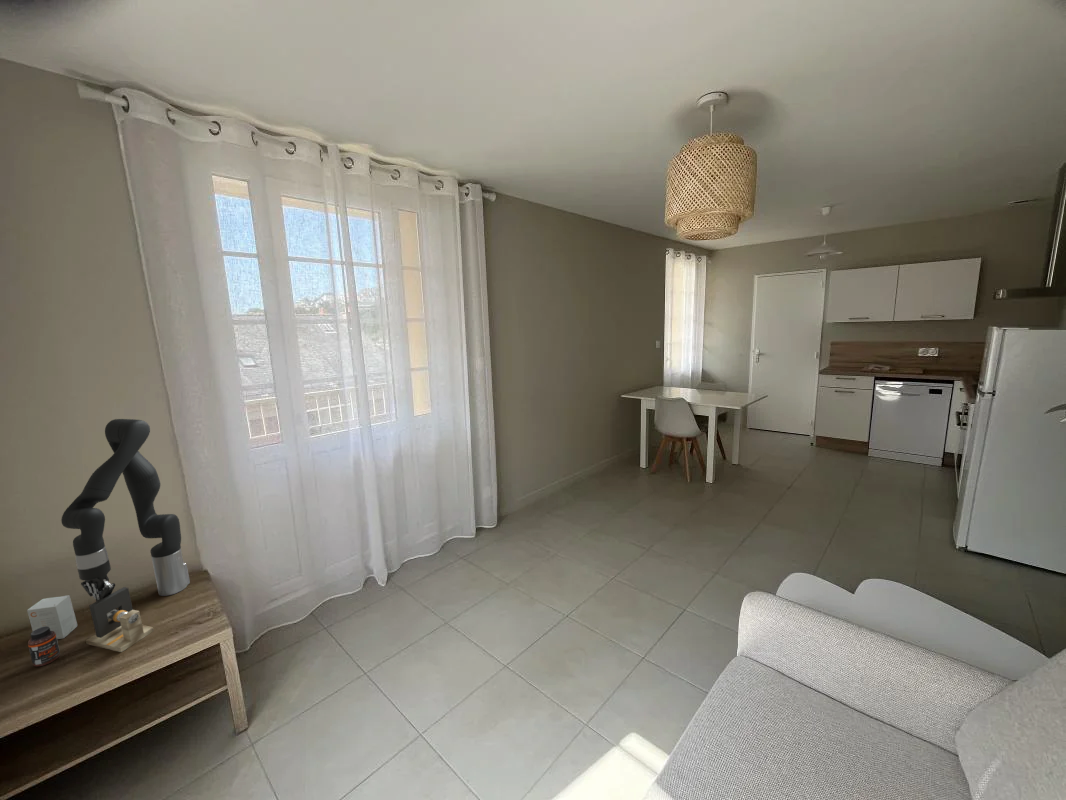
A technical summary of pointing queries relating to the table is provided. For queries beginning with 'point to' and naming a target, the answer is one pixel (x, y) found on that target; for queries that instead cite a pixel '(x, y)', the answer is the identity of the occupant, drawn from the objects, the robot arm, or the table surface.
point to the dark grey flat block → (105, 606)
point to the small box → (53, 615)
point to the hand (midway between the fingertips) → (103, 606)
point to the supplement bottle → (43, 646)
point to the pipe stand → (122, 631)
